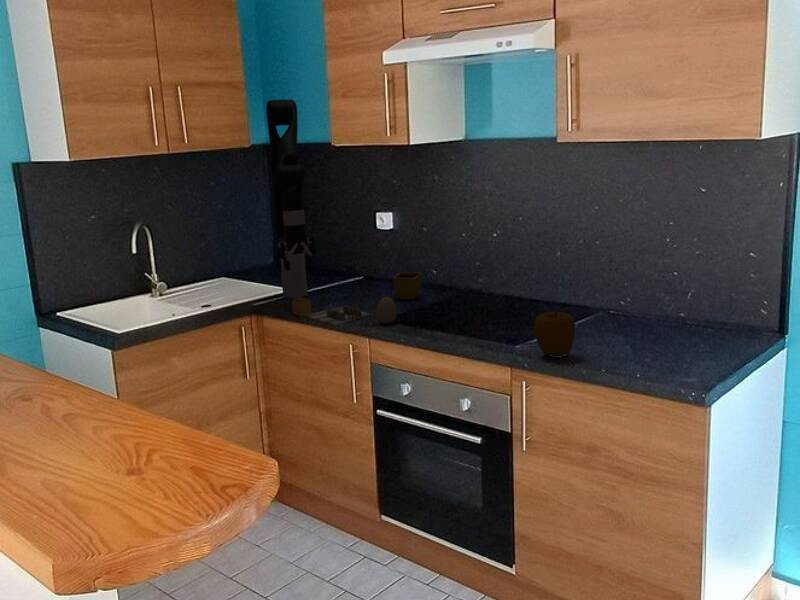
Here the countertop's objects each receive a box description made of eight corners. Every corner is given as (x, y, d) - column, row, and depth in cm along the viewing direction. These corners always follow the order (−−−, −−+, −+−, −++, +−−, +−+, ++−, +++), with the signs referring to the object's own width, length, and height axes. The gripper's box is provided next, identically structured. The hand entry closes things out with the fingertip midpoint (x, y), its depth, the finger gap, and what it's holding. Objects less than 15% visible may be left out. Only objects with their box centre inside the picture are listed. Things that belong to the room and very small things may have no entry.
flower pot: (416, 301, 297) (414, 277, 295) (393, 301, 300) (392, 277, 298) (423, 296, 305) (421, 272, 303) (401, 295, 308) (399, 272, 306)
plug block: (292, 313, 289) (291, 298, 288) (302, 311, 292) (301, 296, 290) (302, 316, 285) (300, 301, 283) (311, 314, 287) (310, 299, 286)
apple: (531, 360, 222) (530, 315, 219) (540, 349, 231) (540, 305, 229) (571, 363, 217) (570, 317, 215) (579, 352, 227) (579, 307, 224)
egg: (373, 324, 268) (371, 298, 266) (385, 320, 273) (384, 293, 271) (389, 327, 264) (387, 300, 262) (401, 322, 269) (400, 295, 267)
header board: (305, 316, 283) (304, 304, 282) (342, 308, 293) (341, 295, 292) (335, 325, 269) (334, 312, 268) (373, 316, 279) (372, 303, 278)
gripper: (305, 219, 288) (309, 264, 291) (271, 225, 279) (275, 270, 283) (317, 221, 282) (321, 266, 286) (282, 226, 273) (287, 273, 277)
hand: (298, 268), depth 284 cm, fingers open, 8 cm apart
